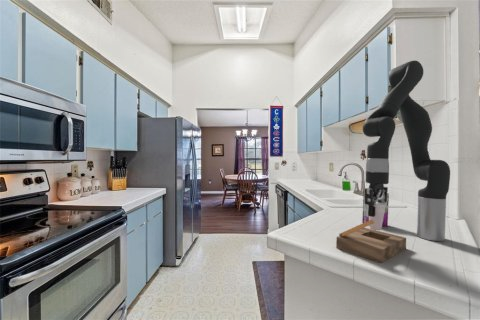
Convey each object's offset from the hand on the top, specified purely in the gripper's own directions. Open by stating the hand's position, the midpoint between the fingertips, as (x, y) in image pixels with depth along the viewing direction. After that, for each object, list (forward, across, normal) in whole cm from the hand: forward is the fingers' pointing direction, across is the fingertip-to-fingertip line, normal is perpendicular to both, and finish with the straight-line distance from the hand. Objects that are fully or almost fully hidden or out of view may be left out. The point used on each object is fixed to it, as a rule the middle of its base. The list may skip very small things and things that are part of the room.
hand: (375, 215), depth 87 cm
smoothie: (+5, 0, 0) cm, 5 cm away
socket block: (+12, +3, 0) cm, 12 cm away
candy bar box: (+12, -33, -14) cm, 38 cm away
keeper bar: (+4, +12, -1) cm, 12 cm away
